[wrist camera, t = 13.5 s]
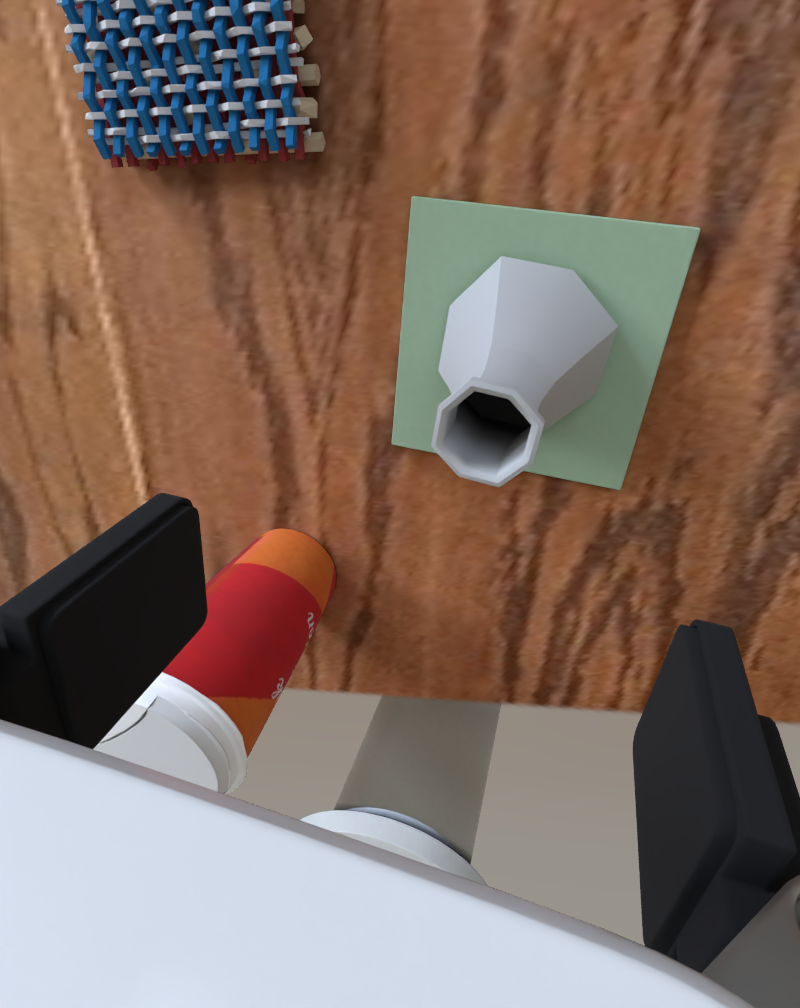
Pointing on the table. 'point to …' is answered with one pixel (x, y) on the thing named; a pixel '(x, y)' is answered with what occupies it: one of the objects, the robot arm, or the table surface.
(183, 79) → the woven mat
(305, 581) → the paper cup
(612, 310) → the coaster
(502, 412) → the flask
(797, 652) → the table surface
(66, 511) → the table surface
